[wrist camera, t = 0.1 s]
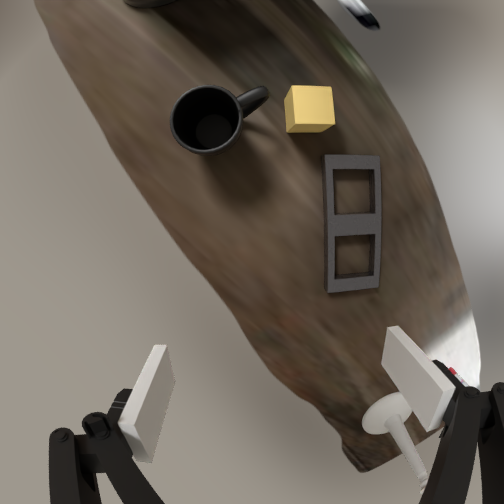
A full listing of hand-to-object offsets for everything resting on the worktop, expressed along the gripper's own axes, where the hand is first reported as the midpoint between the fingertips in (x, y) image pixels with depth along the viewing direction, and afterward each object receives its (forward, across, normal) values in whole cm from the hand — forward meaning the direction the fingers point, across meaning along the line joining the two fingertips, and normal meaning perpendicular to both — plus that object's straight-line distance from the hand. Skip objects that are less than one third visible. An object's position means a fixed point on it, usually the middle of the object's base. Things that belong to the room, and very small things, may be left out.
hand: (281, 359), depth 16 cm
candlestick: (+28, +27, -39) cm, 55 cm away
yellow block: (+28, +7, +19) cm, 35 cm away
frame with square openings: (+28, +14, +3) cm, 31 cm away
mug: (+28, -4, +18) cm, 34 cm away
